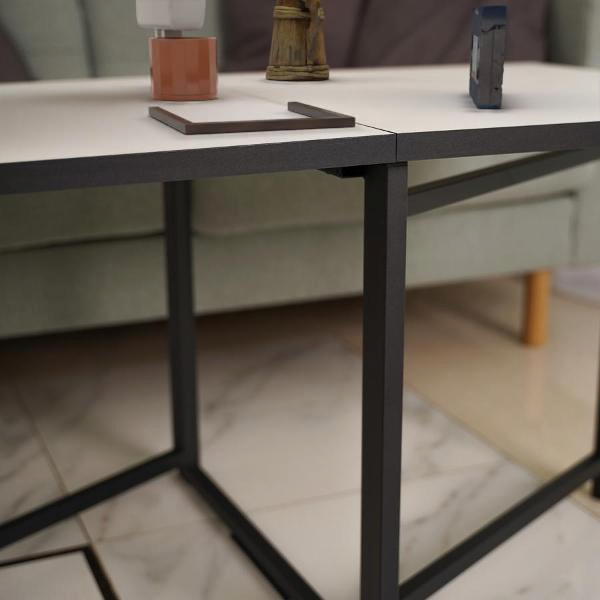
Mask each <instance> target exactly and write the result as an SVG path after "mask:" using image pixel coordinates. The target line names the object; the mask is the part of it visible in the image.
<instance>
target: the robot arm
mask: <svg viewBox="0 0 600 600" xmlns="http://www.w3.org/2000/svg"><path fill="white" fill-rule="evenodd" d="M206 7H207V0H135V11H136V12H135V14H136V15H135V16H136V22H137V25H138V27H139V28H144V29H154V38H155V37H183V31H185V32H190V31H193V32H194V31H201V30H202V29H203V27H204V23H205V19H206Z"/></svg>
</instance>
